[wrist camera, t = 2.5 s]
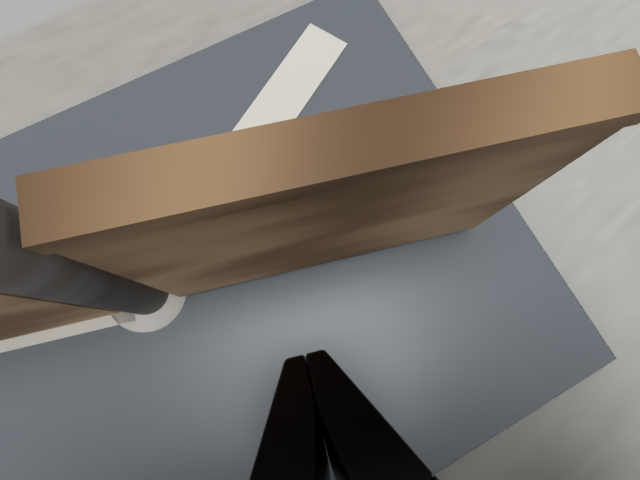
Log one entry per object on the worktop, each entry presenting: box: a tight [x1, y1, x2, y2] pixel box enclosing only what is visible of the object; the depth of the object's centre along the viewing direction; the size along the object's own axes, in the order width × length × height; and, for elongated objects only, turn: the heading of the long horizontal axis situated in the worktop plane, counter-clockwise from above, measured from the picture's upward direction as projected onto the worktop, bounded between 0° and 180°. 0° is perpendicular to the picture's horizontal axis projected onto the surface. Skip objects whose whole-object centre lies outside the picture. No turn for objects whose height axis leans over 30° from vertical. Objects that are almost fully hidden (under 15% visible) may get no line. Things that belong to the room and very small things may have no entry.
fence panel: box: [15, 48, 640, 297], centre depth 11 cm, size 11×1×9 cm, turn 104°
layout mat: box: [0, 0, 616, 480], centre depth 16 cm, size 18×23×1 cm
